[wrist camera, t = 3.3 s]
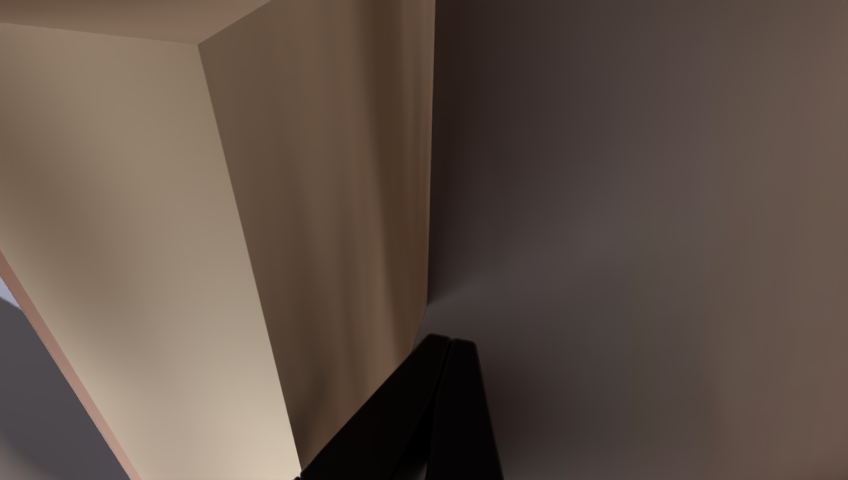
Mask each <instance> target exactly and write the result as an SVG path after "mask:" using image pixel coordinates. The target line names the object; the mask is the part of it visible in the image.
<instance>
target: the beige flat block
mask: <svg viewBox="0 0 848 480" xmlns="http://www.w3.org/2000/svg"><path fill="white" fill-rule="evenodd" d="M434 31H435V0H0V276H1V278H2V279H3V281H4V282H5V284H6V286H7V287H8V289H9V290H10V292H11V293H12V295H13V297H14V298H15V300H16V301H17V303H18V304H19V306H20V307H21V309H22V311H23V312H24V314H25V315H26V317H27V318H28V320H29V321H30V323H31V325H32V326H33V328H34V329H35V331H36V332H37V334H38V336H39V337H40V339H41V340H42V342H43V343H44V345H45V346H46V348H47V350H48V351H49V353H50V354H51V356H52V357H53V359H54V360H55V362H56V364H57V365H58V367H59V368H60V370H61V371H62V373H63V375H64V376H65V377H66V379H67V381H68V382H69V384H70V386H71V387H72V388H73V390H74V392H75V393H76V395H77V396H78V398H79V400H80V401H81V403H82V404H83V406H84V407H85V409H86V410H87V412H88V414H89V415H90V417H91V418H92V420H93V421H94V423H95V425H96V426H97V427H98V429H99V431H100V432H101V434H102V435H103V437H104V438H105V440H106V442H107V443H108V445H109V446H110V448H111V450H112V451H113V452H114V454H115V456H116V457H117V459H118V460H119V462H120V464H121V465H122V467H123V468H124V470H125V471H126V473H127V474H128V476H129V478H130V479H131V480H293V479H294V478H295V477H297V476H299V477H300V472H301V471H302V470H303V469H304V468H305V467H306V466H307V465H308V463H309V462H310V461H311V460H312V459H313V458H314V457H315V456H316V455H317V454H318V453H319V452H320V451H321V449H322V448H323V447H324V446H325V445H326V444H327V443H328V442H329V441H330V440H331V439H332V438H333V436H334V435H335V434H336V433H337V432H338V431H339V430H340V429H341V428H342V427H343V426H344V425H345V423H346V422H347V421H348V420H349V419H350V418H351V417H352V416H353V415H354V414H355V413H356V412H357V411H358V409H359V408H360V407H361V406H362V405H363V404H364V403H365V402H366V401H367V400H368V399H369V398H370V396H371V395H372V394H373V393H374V392H375V391H376V390H377V389H378V388H379V387H380V386H381V385H382V383H383V382H384V381H385V380H386V379H387V378H388V377H389V376H390V375H391V374H392V373H393V372H394V371H395V369H396V368H397V367H398V366H399V365H400V364H401V363H402V362H403V361H404V360H405V359H406V358H407V356H408V355H409V354H410V353H411V351H412V348H413V345H414V342H415V339H416V336H417V334H418V331H419V328H420V325H421V322H422V319H423V316H424V313H425V310H426V307H427V284H428V248H429V212H430V175H431V139H432V103H433V67H434Z"/></svg>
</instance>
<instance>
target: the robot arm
mask: <svg viewBox="0 0 848 480" xmlns="http://www.w3.org/2000/svg"><path fill="white" fill-rule="evenodd" d="M425 475H426V478H425ZM424 478H425V480H504V476H503V472H502V467H501V462H500V457H499V452H498V447H497V443H496V438H495V433H494V428H493V423H492V418H491V414H490V409H489V404H488V399H487V394H486V389H485V385H484V380H483V375H482V370H481V365H480V360H479V356H478V351H477V346H476V344H475V342H473V341H469V340H464V339H459V338H455V339H453V340H452V339H451V338H450V337H448V336H444V335H439V334H433V333H431V334H428V335H427V336H426V337H425V338H424V339H423V340H422V341H421V342H420V343H419V345H418V346H417V347H416V348H415V349H414V350H413V351H412V352H411V353H410V354H409V355H408V356H407V358H406V359H405V360H404V361H403V362H402V363H401V364H400V365H399V366H398V367H397V368H396V369H395V371H394V372H393V373H392V374H391V375H390V376H389V377H388V378H387V379H386V380H385V381H384V382H383V383H382V385H381V386H380V387H379V388H378V389H377V390H376V391H375V392H374V393H373V394H372V395H371V396H370V398H369V399H368V400H367V401H366V402H365V403H364V404H363V405H362V406H361V407H360V408H359V409H358V411H357V412H356V413H355V414H354V415H353V416H352V417H351V418H350V419H349V420H348V421H347V422H346V423H345V425H344V426H343V427H342V428H341V429H340V430H339V431H338V432H337V433H336V434H335V435H334V436H333V438H332V439H331V440H330V441H329V442H328V443H327V444H326V445H325V446H324V447H323V448H322V449H321V451H320V452H319V453H318V454H317V455H316V456H315V457H314V458H313V459H312V460H311V461H310V462H309V463H308V465H307V466H306V467H305V468H304V469H303V470H302V471H301V472H300V477H299V476H297V477H295V478H294V479H293V480H424Z"/></svg>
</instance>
